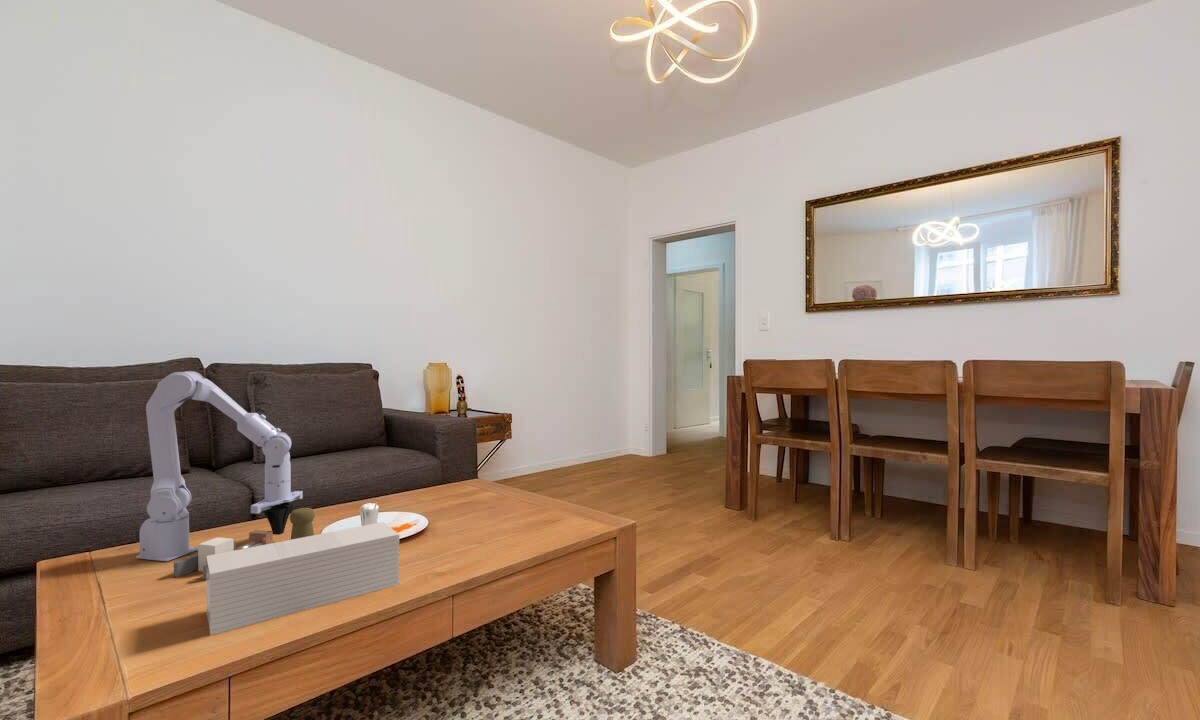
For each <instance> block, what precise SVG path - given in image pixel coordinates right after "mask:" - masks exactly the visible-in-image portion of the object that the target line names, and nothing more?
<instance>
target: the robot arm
mask: <svg viewBox="0 0 1200 720" xmlns="http://www.w3.org/2000/svg"><path fill="white" fill-rule="evenodd" d="M189 399H191V400H194V401H200V402H201V401H202V402H207V403H209V404H211V405H212V406H213V407H215V408H217V410H219V411H220V412H222V413H223V414H224V415H226V416H228V417H229V418H231V419H232V420H233V421H234V422H235V423H236V427H237V428H236V430H237V431H238V432H240V433H241V434H242V435H243V436H245V438H247V439H248V440H249V441H251V442H252V443H254V444H255V445H256V446H257V447H261V450H262V454H263V455H264V457H265V462H264V463H265V464H264V499H262V500H259V501H258V502H256V503H254V504H251V505H250V514H253V515H254V514H260V513H261V512H262V513H263V514H264V516H265V518H266V519H267V521H268V523H269V525H270V528H271V531H273V535H275V536H276V535H278V536H280V535H282V534H284V531H285V529H286V524H287V521H288V519H289V518H290V514H291V513H292V511H293V509H294V503H290V502H293V501H296V500H301V499H304V498H303V496H304V495H303V490H295V491H291V490H292V489H291V488H292V487H291V485H292V484H291V482H292V478H291V477H292V475H291V473H292V472H291V471H292V469H291V466H292V465H291V461H290V460H291V455H290V453H291V452H290V449H291V447H292V439H291V437H290V436H289V435H288V433H286V432H283V431H282V429H281V428H279V427H277V428H276V426H274V425H272V424H271V423H270V422H269V421H267V420H266V418H267V416H266V415H264V414H263V413H261V414H259V413H258V412H248V411H247V410H245V409H244V408H243V407H242V406H241V405H239V404H238V403H237V402H236V401H235V400H234V399H233V398H231V397H230V396H229V395H228V394H227V393H225V392H224V390H222V389H221V388H220V387H219V386H217V385H216V384H215V383H214V382H213V381H211V380H210V379H208V378H206V377H204V376H203V375H202V374H201V373H199V372H197V371H194V370H186V371H175V372H172V373H170V374H168V375H167V376H165V377H163V378H162V379H161V380H159V382H158V383H157V386H156V388H155V390H154V391H153V393H152V395H151V396H150V398H149V399H148V401H147V402H146V405H145V412H146V414H145V415H146V421H147V432H148V440H149V449H150V458H151V459H150V460H151V466H152V467H151V468H152V474H153V475H152V476H153V482H152V485H151V489H150V499H149V501H148V503H147V506H146V511H147V512H146V513H147V515H148V516H149V518H147V519H145V521H143V523H142V524H141V526H140V529H139V554H138V555H136V556H135V559H141V560H152V561H160V562H169V561H171V560H174V559H178V558H180V557H183V556H186V555H188V554H191V553H194V552H196V551H198V546H197V547H196V546H190V511H188V510H187V509H188V508H187V507H188V506H189V505H190V503H191V501H192V494H191V492H190V490H189V489H188V488H187V486H186V479H184V477H183V476H182V474H181V473H182V472H181V463H180V454H179V445H178V437H177V427H176V417H175V411H176V410H177V409H178V408H180V406H181V405H182V404H183V403H185V401H187V400H189Z"/></svg>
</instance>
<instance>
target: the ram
mask: <svg viewBox="0 0 1200 720" xmlns="http://www.w3.org/2000/svg"><path fill="white" fill-rule="evenodd" d="M273 536H274V534H273V531H272V530H264V529H263V530H262V529H255V530H251V531H249V532H248V543H246V544H244V545H241V546H239V547H236V548H235V547H234V551H235V550H240V549H245V548H248V547H250V546H253V545H255V544H258V543H261V544H263V545H266V544H271V543H274V542H273V541H274V537H273Z"/></svg>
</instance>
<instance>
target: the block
mask: <svg viewBox="0 0 1200 720" xmlns="http://www.w3.org/2000/svg"><path fill="white" fill-rule="evenodd" d="M234 541H235V540H234V538H229V537H228V538H227V537H215V538H212V539H209V540H205V541H203V542H200V543H198V544H197V548H198V550H197V554H198V569H197V570H198V572H203V566H204V565H206V556H209V555H214V554H219V553H224V552H229V551H234Z"/></svg>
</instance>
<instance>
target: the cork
mask: <svg viewBox="0 0 1200 720" xmlns="http://www.w3.org/2000/svg"><path fill="white" fill-rule="evenodd" d="M315 516H316V514H315V511H314V510H313V508H310V507H300V508H296V509H294V510H292V511H291V512H290V514H289V521H290V523H291V524H292V526H291V533H290V534H291V535H290V540H292V539H297V538H302V537H308V536H313V535H315V532H314V526H313V521H314V520H315Z"/></svg>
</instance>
